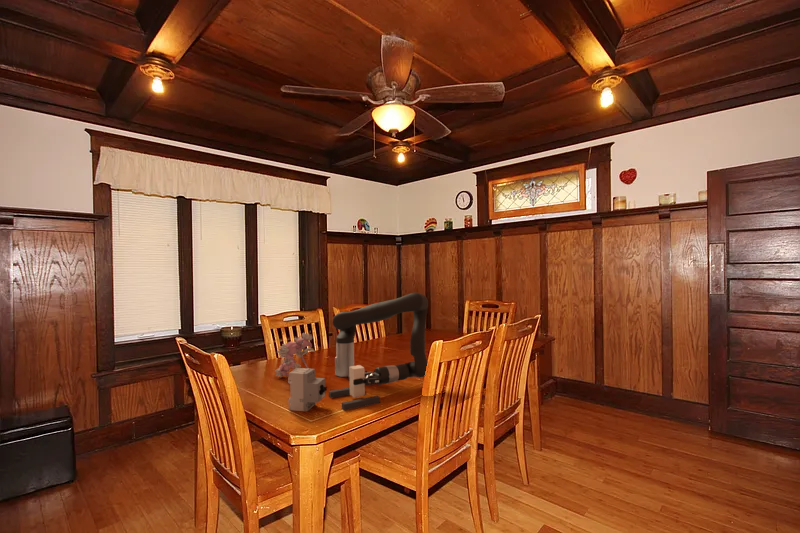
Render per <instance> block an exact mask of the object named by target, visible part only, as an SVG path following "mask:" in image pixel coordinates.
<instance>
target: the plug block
mask: <svg viewBox="0 0 800 533" xmlns="http://www.w3.org/2000/svg"><path fill="white" fill-rule="evenodd" d="M364 371H365V367H364V366H362V365H361V364H357V365H354V366H350V367H349V376H348V383H349V387H350V396H351V397H352V398H357V397H364V396H365V395H366V385H365V384H358V385H354V384H353V380H354V379H360V378H365V372H364Z"/></svg>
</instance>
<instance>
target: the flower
mask: <svg viewBox="0 0 800 533" xmlns="http://www.w3.org/2000/svg"><path fill="white" fill-rule="evenodd" d="M310 333H311V330H309V333H308V332H305V331H303V333H301V335H300V336H298V337H296V336H295V337H294V338H293V340H294V341H288V342H286V343H282V345H281V346H278V350H277V351H276V353H277V354H279V357H280V358H284V360H282V363H281V364H280V365H279V367H278V368H276V369H275V370H274V372H275V376H276V377H279V378H282V377H284V376H285V377H289V373H290V369H293V370H295V369H296V368H301V367H302V365H301V364H300V363H296V362H297V360H296V359H294V355H296V356H297V357H299V358H300V360H301V362H302V363H303V364H304V366H305V367H306V368H309V365H308V364H307V362H306V360H305V358H304V355H307V356H309V354H308V352H310V353H311V352H314V353H316V351H315V349H314V348H312V347H313V345H312V343H311V341H312V339H313V334H310ZM306 347H307V348H306ZM302 368H303V367H302ZM309 369H310V368H309Z"/></svg>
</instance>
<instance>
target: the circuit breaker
mask: <svg viewBox="0 0 800 533" xmlns="http://www.w3.org/2000/svg"><path fill="white" fill-rule="evenodd" d="M315 370H316V369H315V368H307V367H306V368H304V367H302V368H301V367H298V368H296V369H293V370H292V371H289V372H288V373H289V376H287V380H288V381H287V382H288V384H289V386H290V390H289V392H290V393H289V394H290V396H289V398H288V411H295V412H308V411H309V410H311V409H312V408H313V407H314V406H315V405H316V403H317V404H318V403H319V402H320V401H322V399H323V398H325V397H326V391H327V390H328V387H327V386H326V378H325V377H316V371H315Z"/></svg>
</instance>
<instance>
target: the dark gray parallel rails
mask: <svg viewBox="0 0 800 533" xmlns="http://www.w3.org/2000/svg"><path fill="white" fill-rule="evenodd" d="M349 395H350V386H349V387H345V388H339V389H333V390H328V397H329V398H330V399H334V398H339V397H344V396H349ZM350 396H351V395H350ZM380 403H381V397H380V396H379V395H375V396H369V397H364V398H359V399H353V400H349V401H348V400H347V401H343V402H341V409H342V411H349V410H353V409H358V408H363V407H367V406H372V405H377V404H378V405H379V404H380ZM348 409H349V410H348Z"/></svg>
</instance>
